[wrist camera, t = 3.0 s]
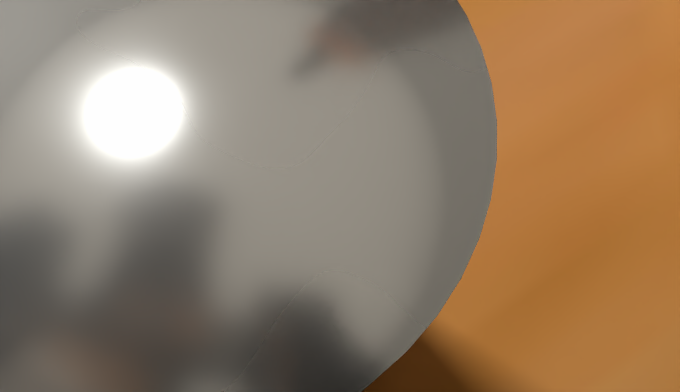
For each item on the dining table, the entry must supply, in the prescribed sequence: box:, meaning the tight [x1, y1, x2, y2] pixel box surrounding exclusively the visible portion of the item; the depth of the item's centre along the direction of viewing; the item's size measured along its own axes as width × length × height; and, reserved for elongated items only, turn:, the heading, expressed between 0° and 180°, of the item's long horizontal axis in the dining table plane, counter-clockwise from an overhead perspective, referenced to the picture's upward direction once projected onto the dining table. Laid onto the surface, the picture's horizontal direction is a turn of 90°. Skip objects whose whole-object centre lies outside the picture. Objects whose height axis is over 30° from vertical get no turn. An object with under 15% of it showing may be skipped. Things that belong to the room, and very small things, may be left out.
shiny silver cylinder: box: [0, 0, 497, 392], centre depth 11 cm, size 5×5×13 cm
